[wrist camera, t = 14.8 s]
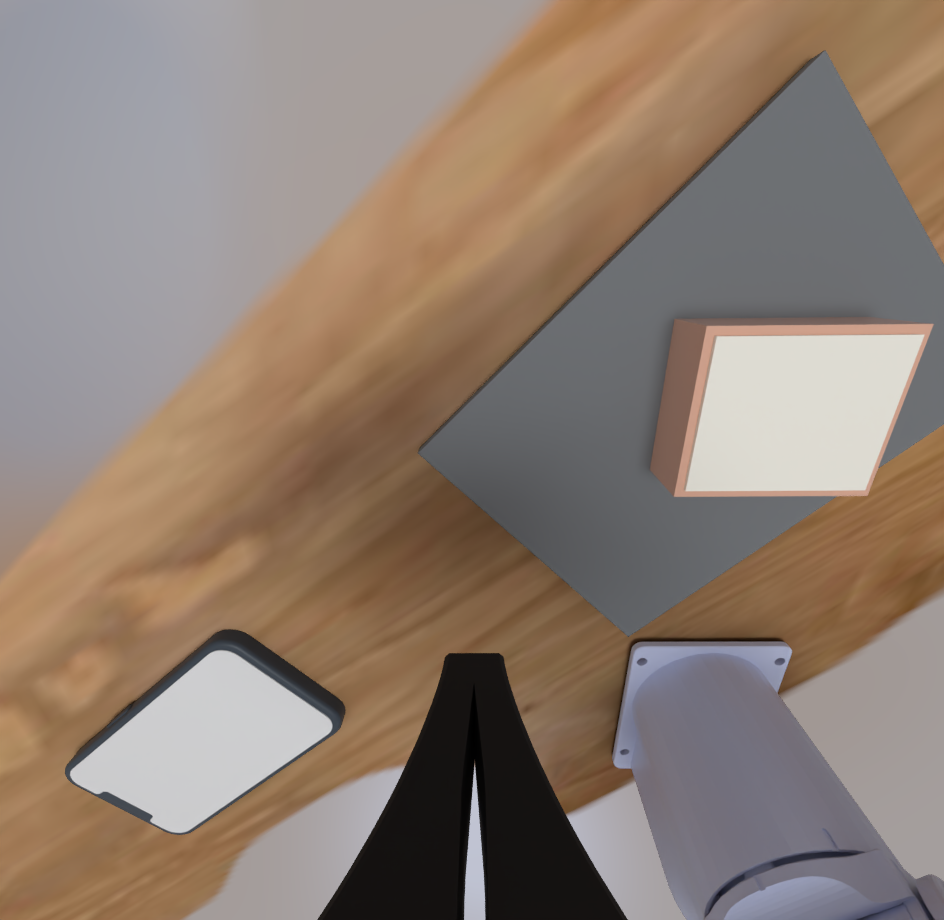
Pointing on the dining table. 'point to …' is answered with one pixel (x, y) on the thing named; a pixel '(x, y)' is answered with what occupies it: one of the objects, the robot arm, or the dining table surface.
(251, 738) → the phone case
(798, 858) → the robot arm
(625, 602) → the mat
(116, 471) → the dining table surface
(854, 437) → the tile
